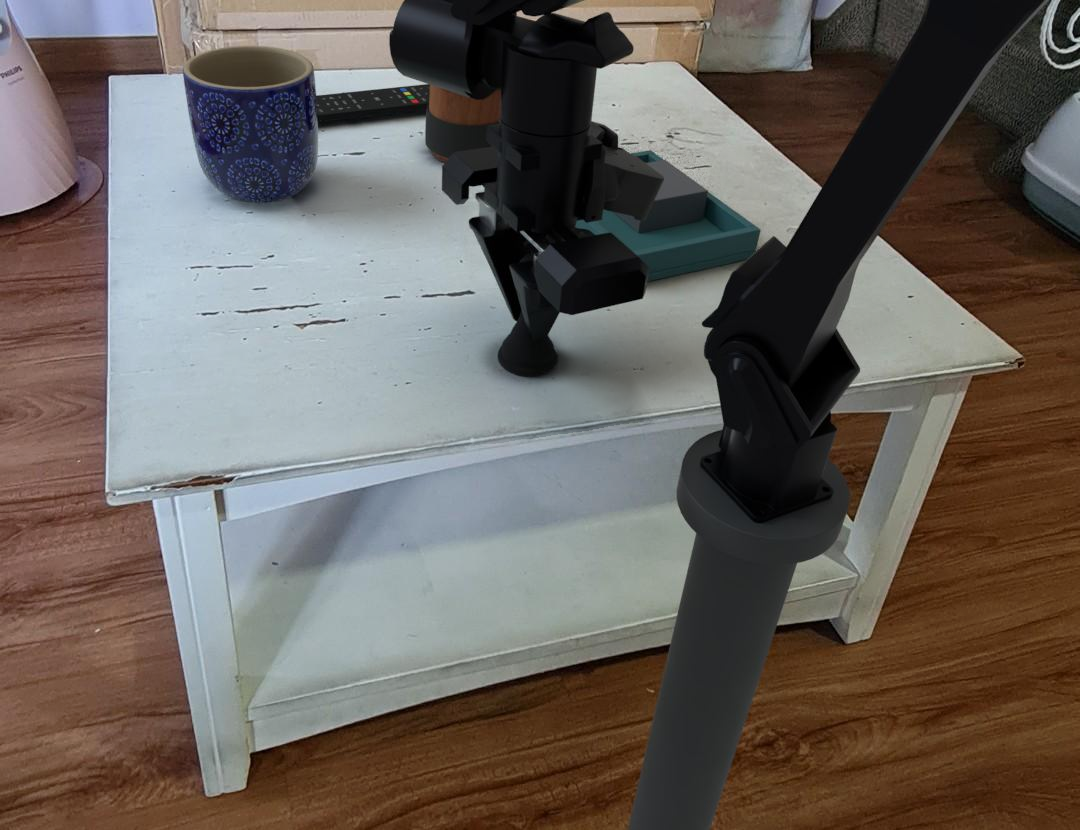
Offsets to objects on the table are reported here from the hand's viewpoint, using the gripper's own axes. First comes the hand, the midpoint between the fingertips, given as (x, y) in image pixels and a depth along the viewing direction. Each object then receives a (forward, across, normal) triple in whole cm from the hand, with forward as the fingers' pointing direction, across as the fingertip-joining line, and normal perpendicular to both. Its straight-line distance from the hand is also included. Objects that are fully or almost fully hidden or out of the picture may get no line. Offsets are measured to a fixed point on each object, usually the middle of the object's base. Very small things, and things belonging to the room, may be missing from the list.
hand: (529, 329), depth 72 cm
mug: (+3, +35, -13) cm, 37 cm away
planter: (+3, +34, +10) cm, 36 cm away
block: (+2, +16, -21) cm, 26 cm away
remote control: (+3, +48, -4) cm, 48 cm away
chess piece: (+3, 0, 0) cm, 3 cm away
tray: (+3, +15, -19) cm, 24 cm away
